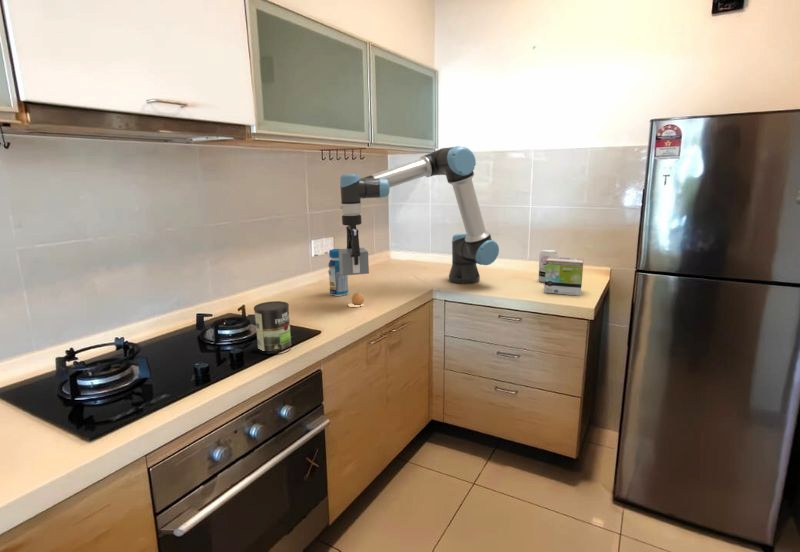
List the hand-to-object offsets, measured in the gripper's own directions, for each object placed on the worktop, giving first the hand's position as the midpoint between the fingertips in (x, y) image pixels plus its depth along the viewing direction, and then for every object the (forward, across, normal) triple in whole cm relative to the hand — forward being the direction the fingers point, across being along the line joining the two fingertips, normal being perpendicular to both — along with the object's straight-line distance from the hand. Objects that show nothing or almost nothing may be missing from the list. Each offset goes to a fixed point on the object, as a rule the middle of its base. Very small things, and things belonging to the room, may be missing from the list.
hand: (354, 270), depth 185 cm
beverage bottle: (+15, -20, -4) cm, 25 cm away
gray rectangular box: (+1, 0, 0) cm, 1 cm away
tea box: (+15, +10, +90) cm, 91 cm away
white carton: (+15, -9, +94) cm, 96 cm away
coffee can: (+15, +39, -32) cm, 53 cm away
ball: (+12, 0, +1) cm, 12 cm away
